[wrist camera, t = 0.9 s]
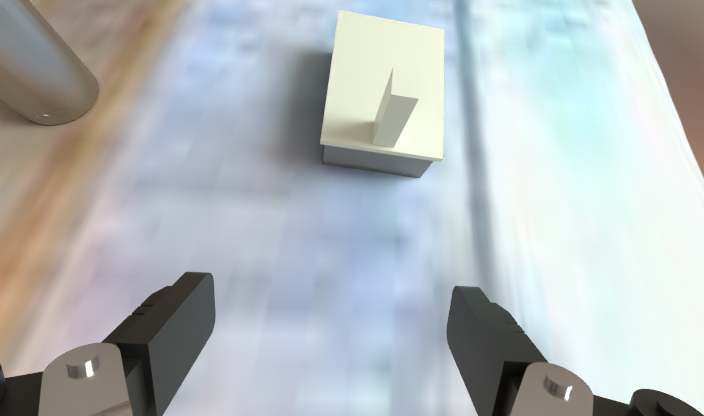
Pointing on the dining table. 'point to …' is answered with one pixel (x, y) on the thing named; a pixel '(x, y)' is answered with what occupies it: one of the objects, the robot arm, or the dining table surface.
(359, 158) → the tub
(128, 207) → the dining table surface
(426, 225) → the dining table surface
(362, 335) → the dining table surface
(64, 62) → the robot arm
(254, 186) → the dining table surface
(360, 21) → the lid
